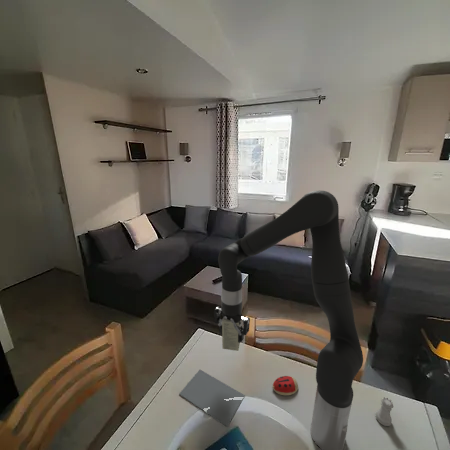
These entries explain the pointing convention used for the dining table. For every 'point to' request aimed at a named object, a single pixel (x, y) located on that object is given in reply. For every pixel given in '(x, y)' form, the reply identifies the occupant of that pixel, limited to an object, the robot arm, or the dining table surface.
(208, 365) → the dining table surface
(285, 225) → the robot arm
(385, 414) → the rook chess piece
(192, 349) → the dining table surface
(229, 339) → the skincare box
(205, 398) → the mat
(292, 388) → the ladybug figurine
